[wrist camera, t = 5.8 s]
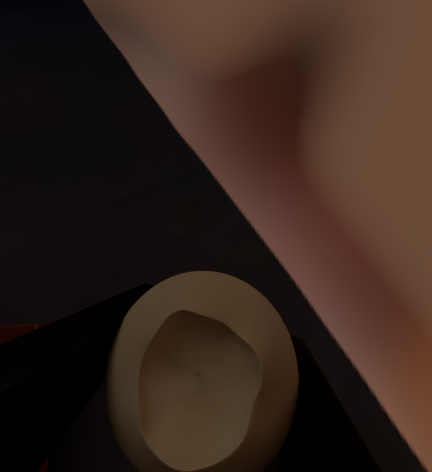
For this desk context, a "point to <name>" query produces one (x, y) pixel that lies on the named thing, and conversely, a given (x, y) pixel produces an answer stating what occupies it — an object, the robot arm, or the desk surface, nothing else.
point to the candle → (201, 377)
